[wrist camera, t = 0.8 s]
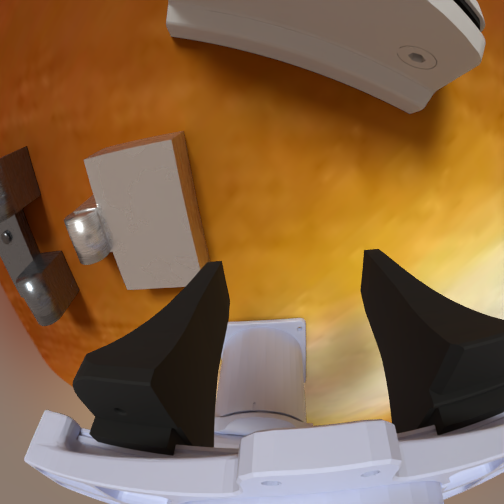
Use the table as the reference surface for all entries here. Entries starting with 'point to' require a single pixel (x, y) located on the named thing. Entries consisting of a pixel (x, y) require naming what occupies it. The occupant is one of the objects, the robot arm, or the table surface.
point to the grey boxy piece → (142, 213)
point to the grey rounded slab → (348, 39)
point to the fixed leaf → (30, 245)
